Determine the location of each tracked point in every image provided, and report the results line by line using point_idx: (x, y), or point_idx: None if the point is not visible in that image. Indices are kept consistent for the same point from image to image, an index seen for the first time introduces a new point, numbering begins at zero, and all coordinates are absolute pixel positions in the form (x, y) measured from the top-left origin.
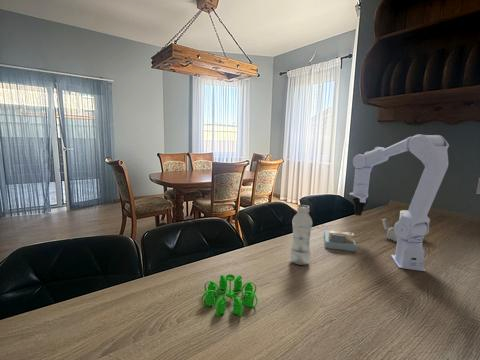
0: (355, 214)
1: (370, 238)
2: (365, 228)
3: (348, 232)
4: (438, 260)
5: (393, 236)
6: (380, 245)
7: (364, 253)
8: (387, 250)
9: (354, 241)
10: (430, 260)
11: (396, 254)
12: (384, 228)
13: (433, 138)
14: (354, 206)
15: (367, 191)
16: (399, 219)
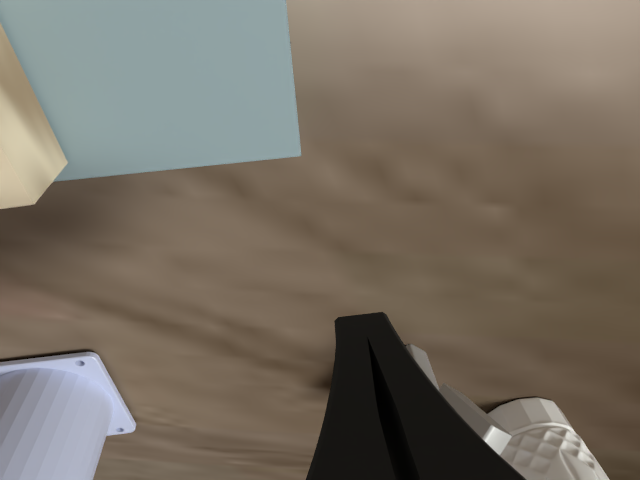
0: (338, 324)
1: (370, 268)
2: (595, 246)
3: (4, 156)
4: (189, 476)
5: None
6: (253, 313)
7: (12, 221)
8: (184, 339)
9: (59, 179)
10: (168, 459)
11: (2, 401)
12: (443, 386)
13: None
14: (401, 420)
15: None
16: (582, 475)
